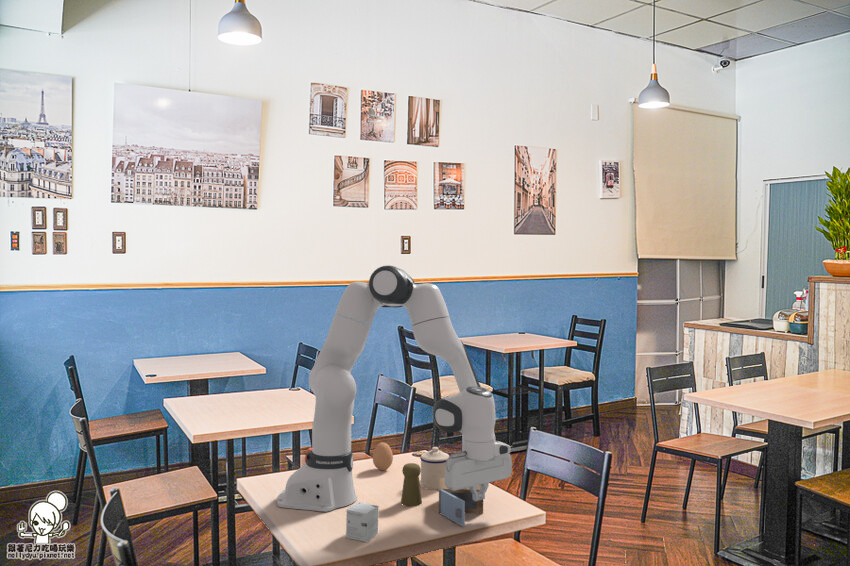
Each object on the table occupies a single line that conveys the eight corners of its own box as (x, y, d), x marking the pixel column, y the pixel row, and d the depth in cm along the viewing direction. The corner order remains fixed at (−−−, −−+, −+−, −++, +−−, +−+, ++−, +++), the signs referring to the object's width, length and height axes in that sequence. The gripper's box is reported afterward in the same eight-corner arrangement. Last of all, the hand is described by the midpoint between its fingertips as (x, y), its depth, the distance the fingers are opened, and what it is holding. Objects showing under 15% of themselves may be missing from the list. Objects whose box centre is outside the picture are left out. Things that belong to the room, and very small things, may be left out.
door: (435, 513, 179) (435, 489, 179) (441, 511, 180) (441, 488, 180) (459, 527, 170) (459, 502, 170) (465, 525, 171) (465, 501, 171)
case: (439, 512, 180) (439, 486, 180) (439, 500, 190) (439, 475, 189) (483, 513, 180) (483, 487, 180) (481, 501, 189) (481, 475, 189)
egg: (397, 470, 216) (397, 442, 216) (381, 474, 212) (381, 446, 211) (384, 465, 221) (384, 438, 221) (368, 469, 216) (368, 442, 216)
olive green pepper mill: (419, 507, 184) (419, 468, 184) (398, 505, 185) (398, 466, 185) (423, 499, 190) (424, 461, 190) (403, 497, 191) (403, 460, 191)
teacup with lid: (453, 489, 199) (453, 451, 198) (423, 491, 197) (424, 452, 196) (443, 476, 210) (443, 440, 210) (415, 478, 208) (415, 441, 208)
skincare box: (345, 538, 164) (345, 509, 163) (358, 529, 169) (358, 501, 169) (367, 542, 161) (367, 513, 161) (378, 533, 167) (378, 504, 167)
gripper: (453, 458, 168) (453, 511, 168) (515, 445, 179) (515, 496, 179) (439, 452, 173) (439, 503, 174) (500, 440, 184) (500, 489, 185)
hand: (478, 499), depth 176 cm, fingers closed
